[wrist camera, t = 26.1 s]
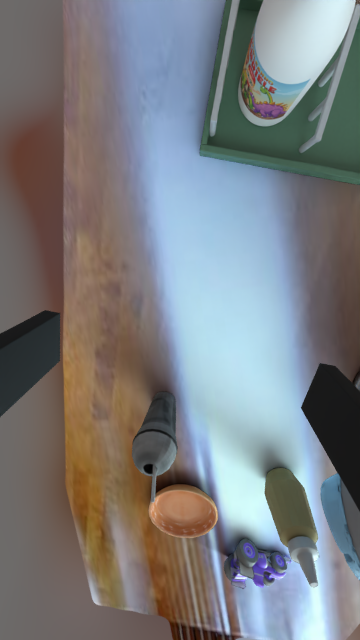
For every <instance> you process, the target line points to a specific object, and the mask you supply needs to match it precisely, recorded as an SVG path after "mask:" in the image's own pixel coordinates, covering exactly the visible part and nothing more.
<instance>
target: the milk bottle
mask: <svg viewBox="0 0 360 640" xmlns="http://www.w3.org/2000/svg"><path fill="white" fill-rule="evenodd" d="M355 2H356V0H263V3H262V5H261V8H260V11H259V14H258V17H257V20H256V23H255V27H254V30H253V34H252V37H251V41H250V44H249V48H248V51H247V55H246V59H245V63H244V66H243V70H242V74H241V78H240V82H239V88H238V100H239V105H240V108H241V111H242V113H243V114H244V116H245V117H246V118H247V119H248V120H249V121H250V122H251V123H253V124H255V125H258V126H272V125H275V124H277V123H279V122H281V121H282V120H283V119H285V118H286V117H287V116H288V115H289V114H290V112H291V111H292V110H293V109H294V108H295V106H296V105H297V104H298V102H299V101H300V100H301V99H302V97H303V96H304V95H305V93H306V92H307V91H308V90H309V88H310V87H311V86H312V84H313V83H314V82H315V80H316V79H317V78H318V76H319V75H320V74H321V72H322V71H323V70H324V68H325V67H326V65H327V64H328V63H329V61H330V60H331V58H332V57H333V55H334V54H335V52H336V51H337V49H338V47H339V45H340V44H341V42H342V40H343V38H344V36H345V33H346V31H347V29H348V26H349V24H350V21H351V18H352V14H353V11H354V7H355Z"/></svg>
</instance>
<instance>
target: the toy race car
mask: <svg viewBox="0 0 360 640" xmlns="http://www.w3.org/2000/svg"><path fill="white" fill-rule="evenodd" d="M271 554H272V553H270V552H267V551H263V550H258V549H257V548H256V546H255V545H254V543H253V542H252V541H250V540H249V539H242V540H241V542H240V543H239V544H238V545H237V548H236V550H235V551H234V554H231V555H230V556H229V557H228V558H227V559H226V561H225V563H224V571H225V574H226V576H227V577H228V579H229V580H230V581H231V585H233V586H236V587H239V588H242V589H244V588H245V587H246V585H245V580H246V578H247V577H248V578H251V579H253V581H254V583H255V584H256V585H257V586H259V587H262V588H263V587H264V584H265V585H267V586H270V585H272V584H273V582H274V580H275V579H281V578H282V577H283V576H284V575H285V574H286V572H284V571H285V570H286V569H287V563H291V560H290V558H289V557H286V556H283V555H282V554H280V553H279V552H274V553H273V554H272V555H271ZM270 555H271V558H270V561H271V563H269V561H268V557H269V556H270Z"/></svg>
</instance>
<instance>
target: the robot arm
mask: <svg viewBox="0 0 360 640" xmlns="http://www.w3.org/2000/svg"><path fill="white" fill-rule="evenodd" d="M59 361H60V313H56V312H51V311H46V310H45V311H43V312H41V313H39V314H37V315H35V316H33V317H31V318H30V319H28V320H26V321H24V322H22V323H20V324H18V325H16V326H15V327H13V328H11V329H9V330H7V331H5V332H3V333H1V334H0V417H1V416H2V415H3V414H4V413H5V412H6V411H7V410H8V409H9V408H10V407H11V406H12V405H14V404H15V403H16V402H17V401H18V400H19V399H20V398H21V397H22V396H23V395H24V394H25V393H26V392H27V391H28V390H29V389H30V388H32V387H33V386H34V385H35V384H36V383H37V382H38V381H39V380H40V379H41V378H42V377H43V376H44V375H45V374H46V373H47V372H49V371H50V369H52V368H53V367H54V366H55V365H56V364H57V363H58V362H59ZM301 409H302V411H303V412H304V414H305V416H306V418H307V419H308V421H309V423H310V425H311V427H312V428H313V430H314V432H315V434H316V435H317V437H318V439H319V441H320V442H321V444H322V446H323V448H324V450H325V451H326V453H327V455H328V457H329V458H330V460H331V462H332V464H333V465H334V467H335V469H336V471H337V474H335V475H333V476H331V477H330V478H328V479H326V480H325V481H324V482H323V484H322V487H321V501H322V506H323V510H324V513H325V516H326V519H327V522H328V525H329V527H330V530H331V532H332V534H333V537H334V539H335V541H336V543H337V545H338V547H339V549H340V551H341V552H342V553H344V556H345V559H346V561H347V563H348V565H349V567H350V568H351V570H352V571H353V573H354V574H355V576H356V577H357V578H358V579H359V580H360V372H359V373H358V375H357V376H356V378H355V380H354V382H353V384H352V383H351V381H350V380H349V379H348V378H347V377H346V376H345V375H344V374H343V373H342V372H341V371H340V370H339V369H338V368H337V367H336V366H332V365H327V364H322V363H320V364H319V367H318V369H317V371H316V374H315V376H314V378H313V381H312V383H311V385H310V388H309V390H308V392H307V395H306V397H305V399H304V402H303V404H302V407H301Z"/></svg>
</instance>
